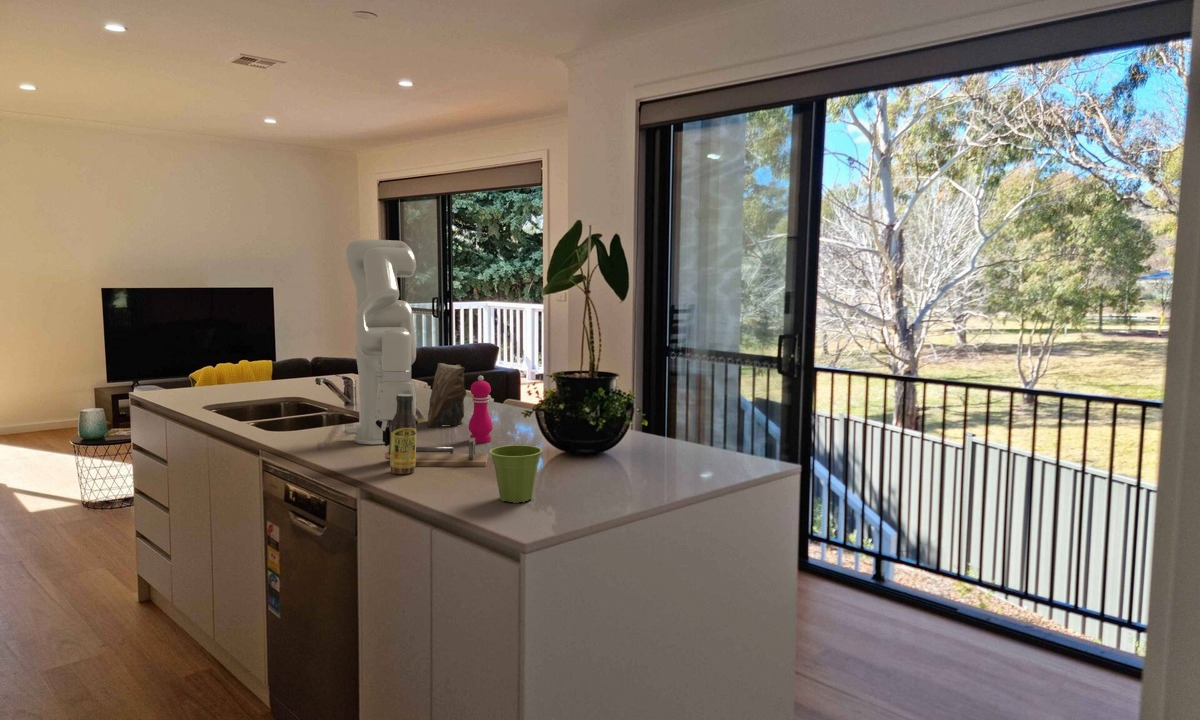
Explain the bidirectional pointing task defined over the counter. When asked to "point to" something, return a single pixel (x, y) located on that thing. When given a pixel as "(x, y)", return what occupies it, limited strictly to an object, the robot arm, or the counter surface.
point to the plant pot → (515, 471)
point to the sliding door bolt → (418, 449)
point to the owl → (447, 396)
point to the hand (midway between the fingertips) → (397, 444)
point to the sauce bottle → (403, 437)
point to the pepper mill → (480, 412)
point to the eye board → (453, 458)
